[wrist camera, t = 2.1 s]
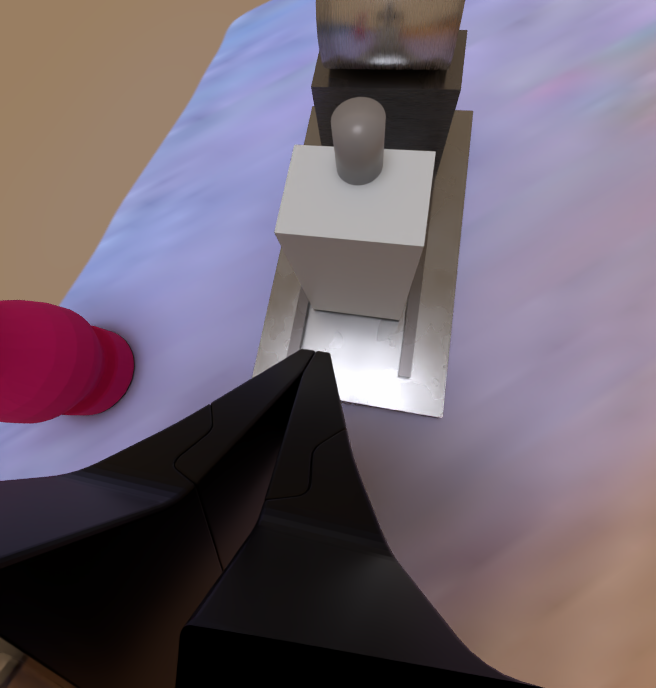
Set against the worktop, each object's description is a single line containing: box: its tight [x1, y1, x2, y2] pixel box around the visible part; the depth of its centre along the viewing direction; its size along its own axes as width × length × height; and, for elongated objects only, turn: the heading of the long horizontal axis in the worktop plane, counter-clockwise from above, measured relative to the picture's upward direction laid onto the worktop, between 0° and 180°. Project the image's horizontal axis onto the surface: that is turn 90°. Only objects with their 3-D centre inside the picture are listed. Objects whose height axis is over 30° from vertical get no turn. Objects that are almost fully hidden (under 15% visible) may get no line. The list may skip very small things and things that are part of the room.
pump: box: [274, 97, 436, 320], centre depth 16 cm, size 4×6×11 cm
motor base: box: [252, 0, 473, 418], centre depth 17 cm, size 22×12×12 cm, turn 170°
